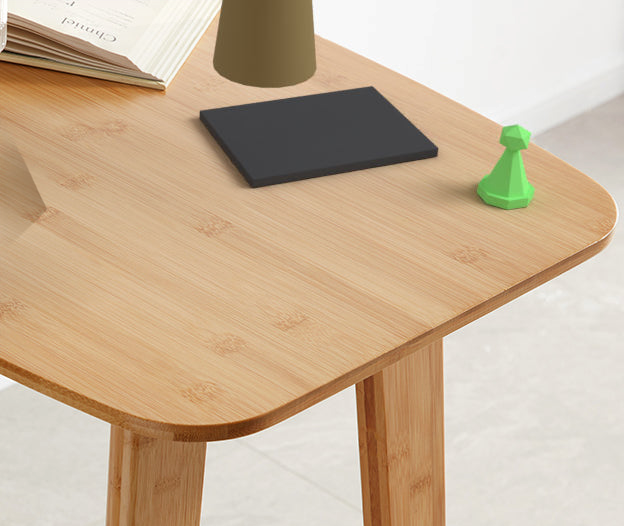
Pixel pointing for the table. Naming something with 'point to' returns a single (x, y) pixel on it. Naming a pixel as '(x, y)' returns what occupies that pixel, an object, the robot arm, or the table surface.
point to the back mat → (315, 135)
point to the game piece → (508, 173)
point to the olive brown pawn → (266, 42)
